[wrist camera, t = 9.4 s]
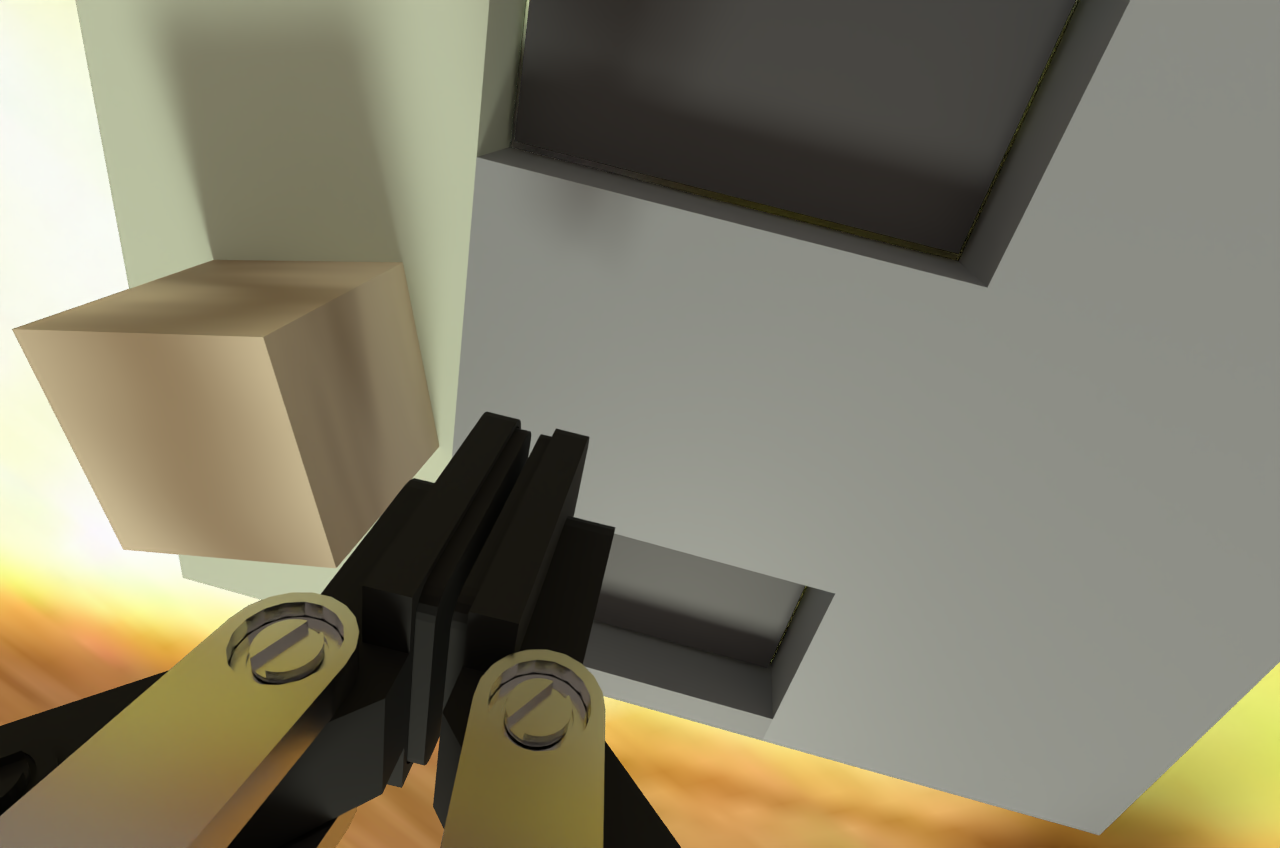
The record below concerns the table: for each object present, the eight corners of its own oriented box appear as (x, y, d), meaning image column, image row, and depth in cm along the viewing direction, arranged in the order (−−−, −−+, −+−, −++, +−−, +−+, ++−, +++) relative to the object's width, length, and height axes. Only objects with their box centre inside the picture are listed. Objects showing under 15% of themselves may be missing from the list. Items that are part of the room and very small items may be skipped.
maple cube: (272, 436, 17) (123, 549, 13) (213, 259, 14) (12, 329, 11) (439, 446, 16) (336, 567, 12) (402, 262, 14) (262, 337, 10)
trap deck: (229, 536, 21) (182, 577, 20) (116, -319, 12) (3, -389, 10) (1070, 770, 21) (1099, 835, 19) (1721, 58, 11) (1910, 55, 9)
